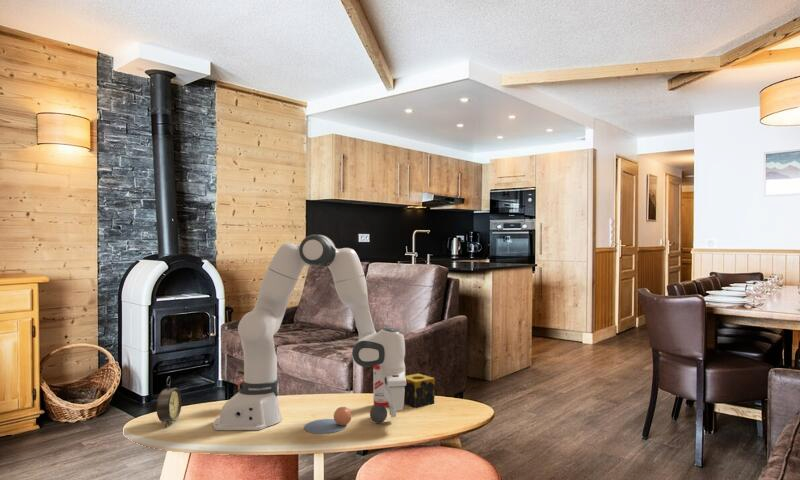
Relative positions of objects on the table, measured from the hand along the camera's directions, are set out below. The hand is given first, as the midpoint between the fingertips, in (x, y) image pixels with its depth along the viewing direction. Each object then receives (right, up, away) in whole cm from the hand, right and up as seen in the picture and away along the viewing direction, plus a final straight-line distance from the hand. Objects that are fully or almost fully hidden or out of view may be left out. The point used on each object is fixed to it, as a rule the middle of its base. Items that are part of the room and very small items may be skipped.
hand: (392, 416), depth 170 cm
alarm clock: (-77, -3, -1) cm, 77 cm away
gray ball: (-5, +1, -1) cm, 5 cm away
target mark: (-23, -2, -4) cm, 23 cm away
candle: (+9, -3, +22) cm, 24 cm away
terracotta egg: (-17, +1, -3) cm, 17 cm away
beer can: (-5, -3, +18) cm, 19 cm away
